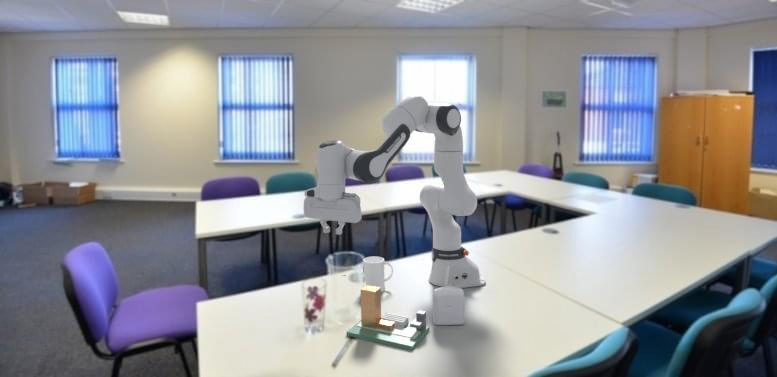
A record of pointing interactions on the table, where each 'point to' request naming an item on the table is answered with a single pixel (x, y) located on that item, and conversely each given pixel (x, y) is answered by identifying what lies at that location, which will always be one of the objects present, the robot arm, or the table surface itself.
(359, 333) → the board
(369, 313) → the tall wooden block
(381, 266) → the mug
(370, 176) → the robot arm
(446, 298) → the photo printer
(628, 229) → the table surface
